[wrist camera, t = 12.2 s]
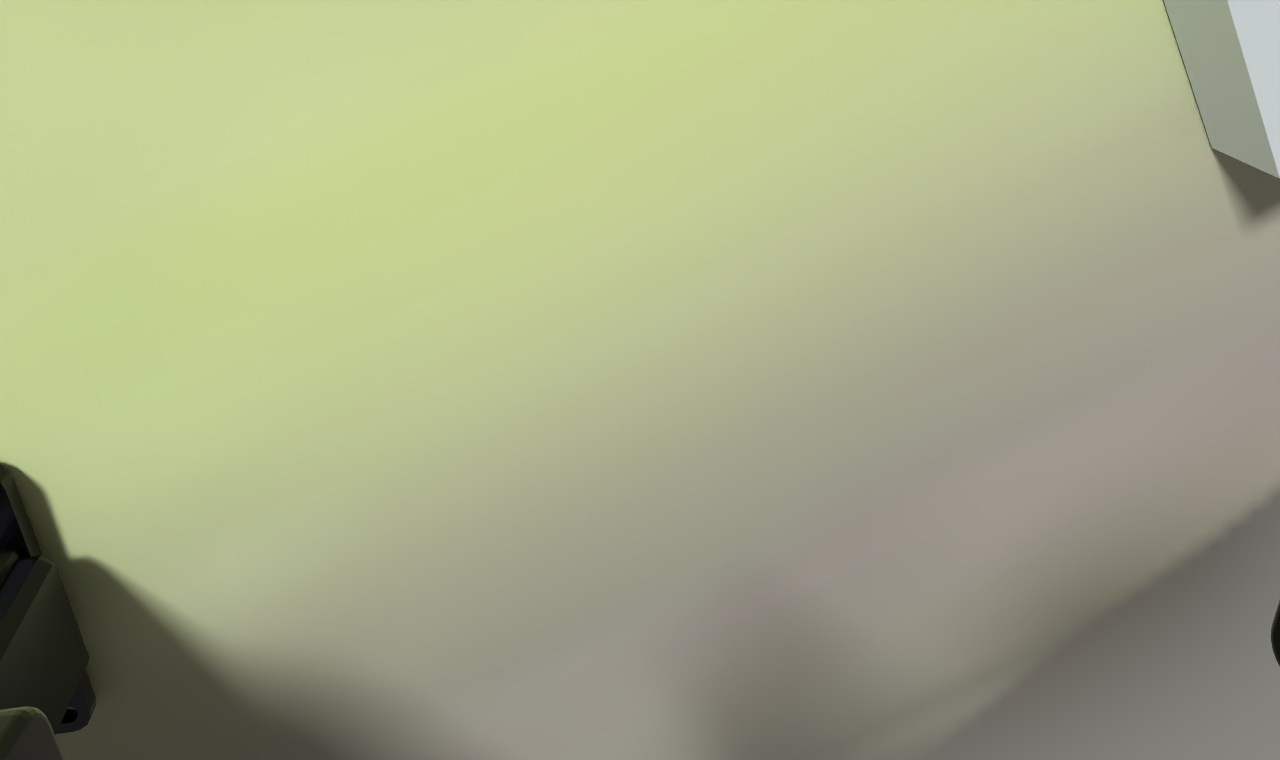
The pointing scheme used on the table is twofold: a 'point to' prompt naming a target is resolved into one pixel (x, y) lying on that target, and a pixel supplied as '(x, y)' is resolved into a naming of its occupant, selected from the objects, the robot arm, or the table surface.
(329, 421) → the table surface
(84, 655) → the robot arm
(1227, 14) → the dock
